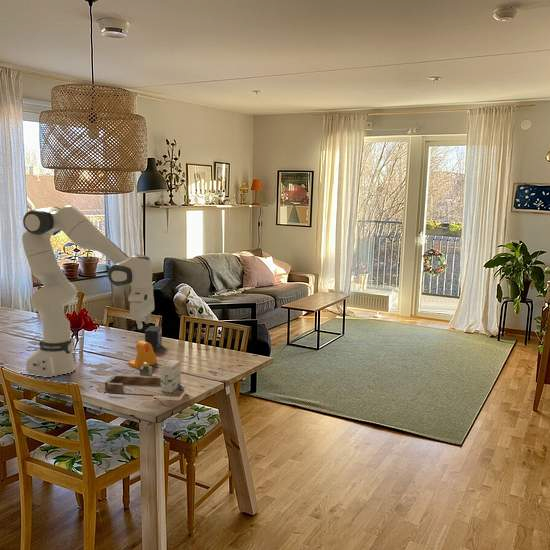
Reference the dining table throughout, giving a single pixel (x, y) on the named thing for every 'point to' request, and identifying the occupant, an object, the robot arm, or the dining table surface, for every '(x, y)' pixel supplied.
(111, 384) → the open box
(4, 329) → the dining table surface
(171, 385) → the ink box
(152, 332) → the small box
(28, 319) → the dining table surface
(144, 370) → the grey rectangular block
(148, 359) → the bracket
